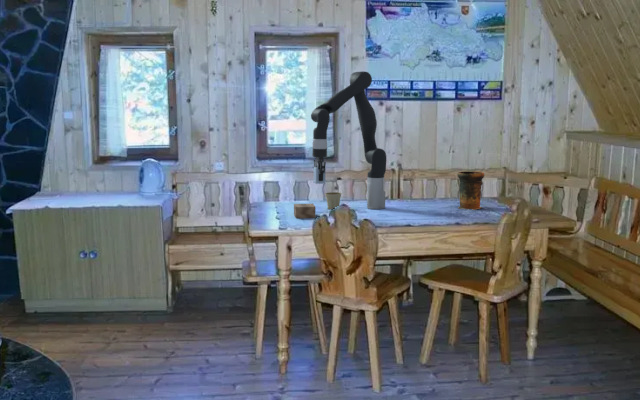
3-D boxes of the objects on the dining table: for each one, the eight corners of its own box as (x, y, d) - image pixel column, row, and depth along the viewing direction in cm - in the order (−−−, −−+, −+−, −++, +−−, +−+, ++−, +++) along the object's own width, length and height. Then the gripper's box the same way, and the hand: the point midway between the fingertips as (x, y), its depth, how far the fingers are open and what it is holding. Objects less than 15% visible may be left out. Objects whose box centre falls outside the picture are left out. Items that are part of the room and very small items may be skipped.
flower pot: (321, 209, 351) (321, 193, 349) (329, 206, 359) (329, 191, 358) (337, 210, 347) (337, 195, 345) (344, 208, 355) (344, 192, 353)
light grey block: (322, 182, 336) (322, 167, 335) (325, 183, 332) (325, 168, 330) (313, 182, 335) (313, 167, 334) (316, 183, 330) (316, 168, 329)
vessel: (477, 211, 344) (477, 174, 341) (452, 208, 353) (453, 172, 350) (487, 207, 355) (488, 171, 353) (463, 205, 364) (464, 170, 361)
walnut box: (312, 214, 336) (312, 203, 336) (315, 218, 327) (315, 206, 326) (293, 215, 335) (293, 204, 334) (296, 218, 325) (295, 207, 324)
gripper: (330, 148, 325) (330, 181, 327) (322, 146, 338) (322, 178, 341) (316, 148, 323) (316, 182, 325) (309, 146, 336) (308, 178, 339)
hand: (319, 180), depth 333 cm, fingers closed on light grey block, 5 cm apart
